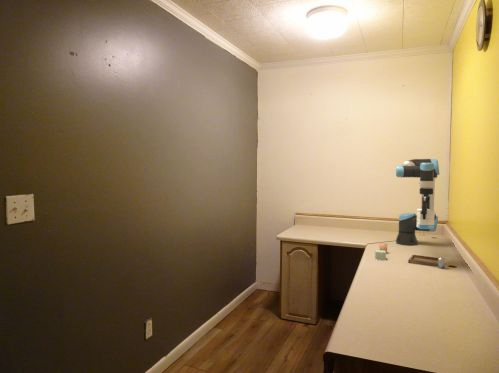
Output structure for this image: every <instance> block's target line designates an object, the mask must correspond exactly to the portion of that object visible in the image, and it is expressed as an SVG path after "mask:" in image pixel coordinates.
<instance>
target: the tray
mask: <svg viewBox="0 0 499 373" xmlns="http://www.w3.org/2000/svg"><path fill="white" fill-rule="evenodd" d="M407 261H408V263H409V264H416V265H420V266H429V267H434V268H435V267H436V268H438V257H436V256H433V257H432V256H427V255H419V254H412V255H411V256H410V257H409V258H408V260H407Z"/></svg>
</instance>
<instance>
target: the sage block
mask: <svg viewBox="0 0 499 373" xmlns="http://www.w3.org/2000/svg"><path fill="white" fill-rule="evenodd" d="M374 258H375V260H376V259H377V261H386V259H387V254H386V252H385V250H380V249H374Z"/></svg>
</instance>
